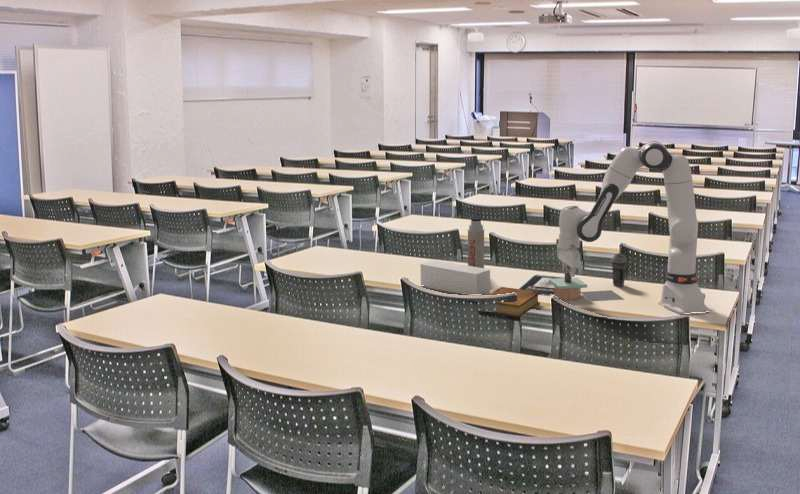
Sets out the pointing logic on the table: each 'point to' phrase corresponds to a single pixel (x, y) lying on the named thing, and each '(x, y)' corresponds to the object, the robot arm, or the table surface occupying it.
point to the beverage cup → (619, 269)
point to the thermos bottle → (476, 243)
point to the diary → (516, 302)
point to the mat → (601, 295)
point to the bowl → (568, 293)
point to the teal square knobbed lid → (567, 282)
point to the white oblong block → (455, 277)
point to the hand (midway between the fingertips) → (568, 273)
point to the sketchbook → (540, 284)
